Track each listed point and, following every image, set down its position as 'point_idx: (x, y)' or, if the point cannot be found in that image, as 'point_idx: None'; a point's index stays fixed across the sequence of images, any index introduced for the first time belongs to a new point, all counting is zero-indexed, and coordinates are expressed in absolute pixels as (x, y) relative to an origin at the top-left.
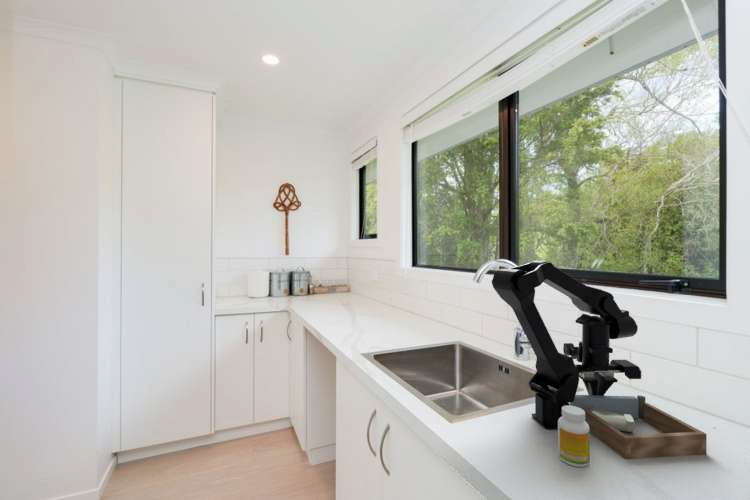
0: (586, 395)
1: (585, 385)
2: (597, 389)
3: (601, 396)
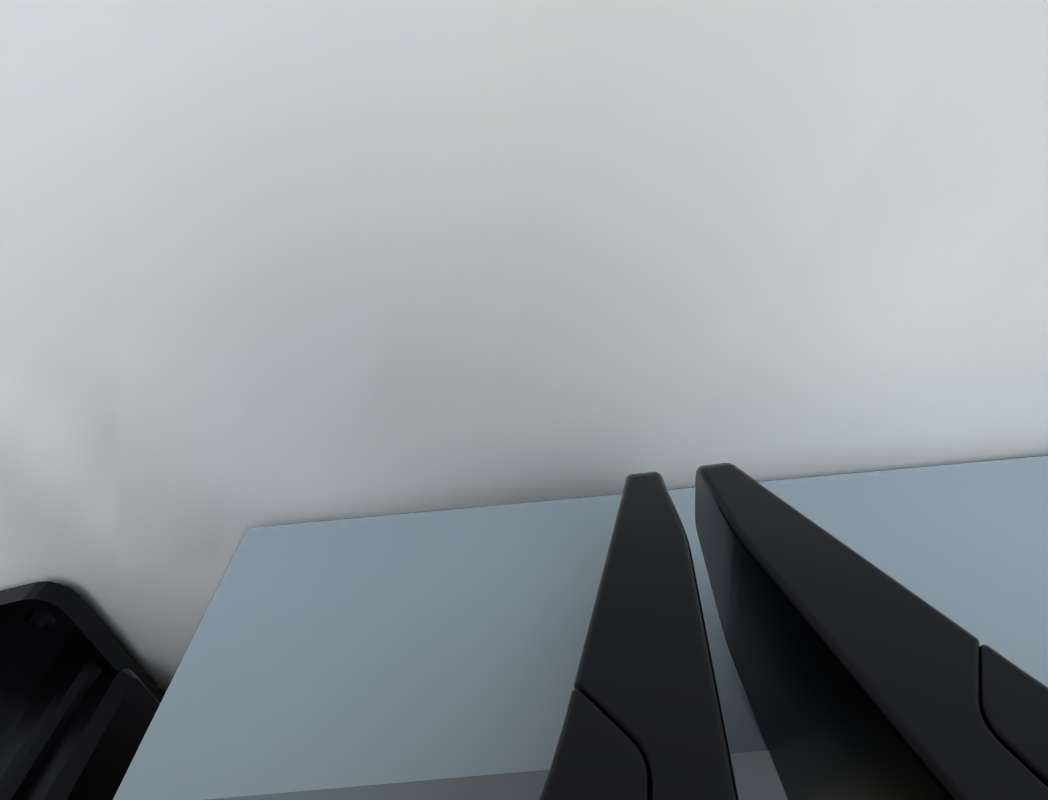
0: (470, 785)
1: (553, 793)
2: (828, 784)
3: (769, 782)
